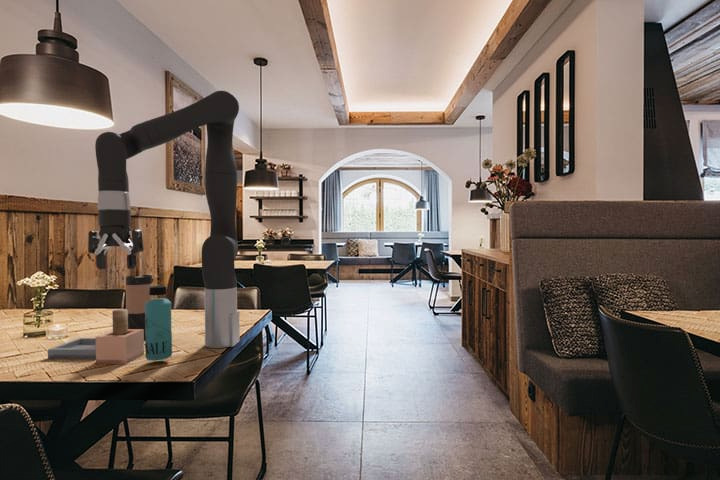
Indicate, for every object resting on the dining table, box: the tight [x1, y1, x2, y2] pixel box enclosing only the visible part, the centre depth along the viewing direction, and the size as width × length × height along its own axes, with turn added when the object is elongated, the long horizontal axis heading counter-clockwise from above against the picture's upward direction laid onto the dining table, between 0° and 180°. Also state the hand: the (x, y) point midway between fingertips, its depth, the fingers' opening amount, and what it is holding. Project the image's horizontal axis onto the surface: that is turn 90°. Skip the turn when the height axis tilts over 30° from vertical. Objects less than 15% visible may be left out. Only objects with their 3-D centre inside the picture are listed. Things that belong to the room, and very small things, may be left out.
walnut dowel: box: [111, 308, 128, 335], centre depth 107 cm, size 4×4×12 cm
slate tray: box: [47, 337, 96, 360], centre depth 114 cm, size 14×12×2 cm
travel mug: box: [125, 274, 154, 341], centre depth 128 cm, size 8×8×20 cm
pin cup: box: [95, 329, 145, 365], centre depth 107 cm, size 8×8×7 cm
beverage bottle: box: [144, 285, 174, 361], centre depth 104 cm, size 6×7×20 cm
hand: (116, 268), depth 108 cm, fingers open, 8 cm apart
